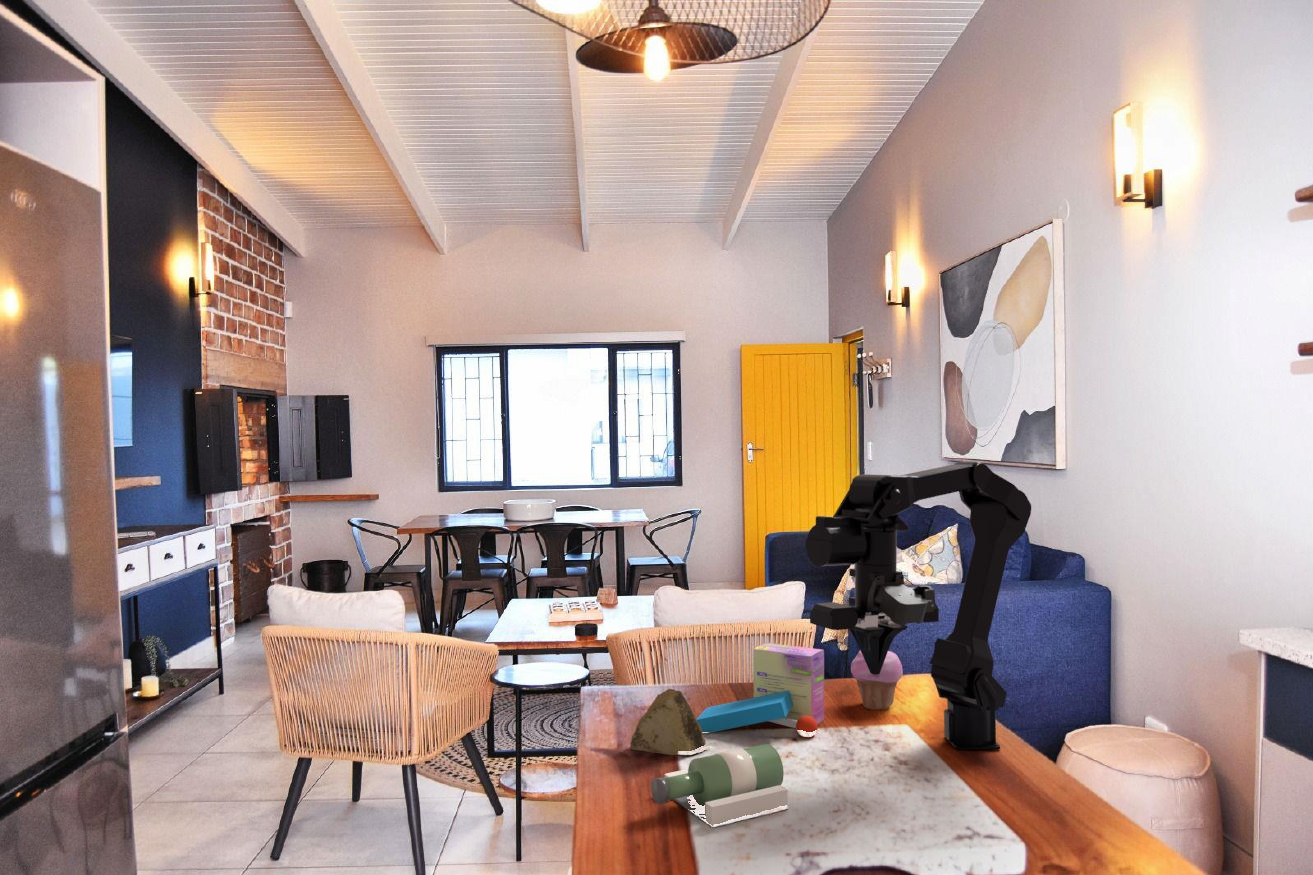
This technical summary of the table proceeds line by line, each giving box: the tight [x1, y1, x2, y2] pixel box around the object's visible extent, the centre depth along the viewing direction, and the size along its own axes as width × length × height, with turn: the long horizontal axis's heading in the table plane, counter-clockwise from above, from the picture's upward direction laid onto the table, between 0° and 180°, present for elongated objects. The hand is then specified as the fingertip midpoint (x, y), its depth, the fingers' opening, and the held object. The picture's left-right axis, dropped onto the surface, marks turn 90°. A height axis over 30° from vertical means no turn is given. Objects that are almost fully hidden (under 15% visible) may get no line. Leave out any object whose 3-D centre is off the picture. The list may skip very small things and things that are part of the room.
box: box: [752, 642, 825, 726], centre depth 146 cm, size 10×6×12 cm, turn 58°
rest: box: [664, 768, 789, 826], centre depth 113 cm, size 11×12×2 cm
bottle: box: [650, 743, 784, 806], centre depth 112 cm, size 6×6×17 cm
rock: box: [630, 688, 707, 756], centre depth 133 cm, size 11×9×10 cm
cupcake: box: [850, 649, 904, 711], centre depth 152 cm, size 9×9×10 cm
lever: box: [696, 690, 819, 733], centre depth 140 cm, size 7×7×18 cm
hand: (874, 674), depth 124 cm, fingers closed
